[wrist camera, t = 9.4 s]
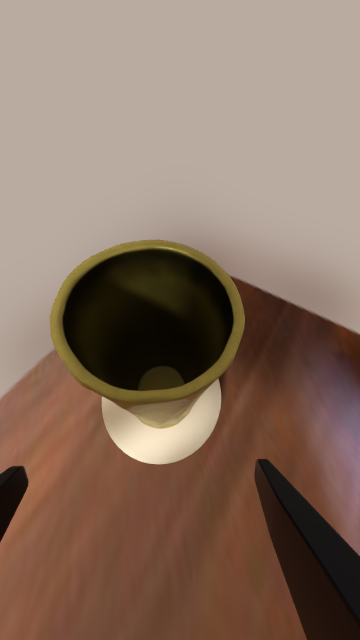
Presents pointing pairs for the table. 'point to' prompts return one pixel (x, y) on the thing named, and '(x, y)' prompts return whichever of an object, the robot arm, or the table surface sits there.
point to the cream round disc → (163, 430)
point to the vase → (148, 327)
